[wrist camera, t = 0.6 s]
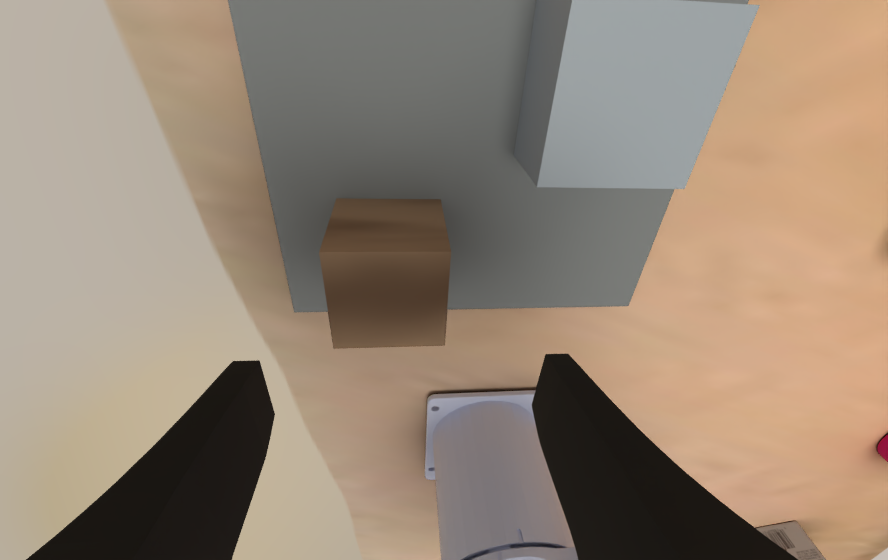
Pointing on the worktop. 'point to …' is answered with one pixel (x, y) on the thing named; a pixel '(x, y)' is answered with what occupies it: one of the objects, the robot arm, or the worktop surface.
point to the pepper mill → (883, 448)
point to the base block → (624, 89)
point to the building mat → (429, 147)
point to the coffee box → (792, 540)
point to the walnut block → (386, 272)
